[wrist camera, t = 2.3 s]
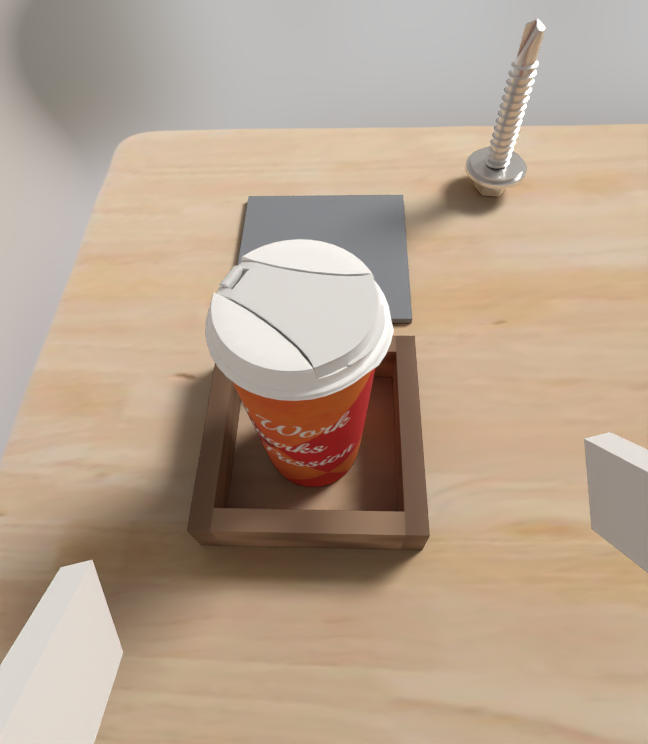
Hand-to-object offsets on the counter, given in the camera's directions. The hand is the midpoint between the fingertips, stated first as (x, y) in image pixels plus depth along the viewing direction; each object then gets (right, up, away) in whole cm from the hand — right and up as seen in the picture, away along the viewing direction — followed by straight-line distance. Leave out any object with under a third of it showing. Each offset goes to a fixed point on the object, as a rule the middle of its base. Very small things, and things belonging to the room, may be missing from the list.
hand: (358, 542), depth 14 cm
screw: (+13, +20, +31) cm, 39 cm away
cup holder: (-1, 0, +19) cm, 19 cm away
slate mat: (-1, +14, +27) cm, 30 cm away
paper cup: (-1, 0, +19) cm, 19 cm away
